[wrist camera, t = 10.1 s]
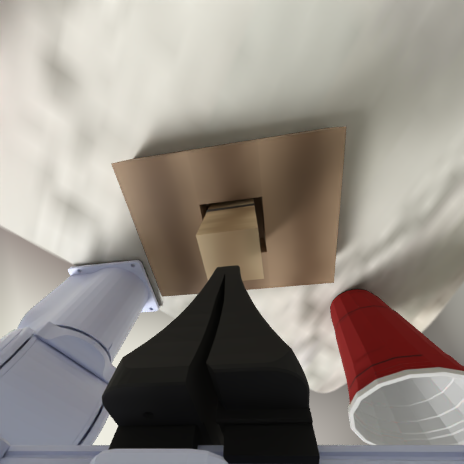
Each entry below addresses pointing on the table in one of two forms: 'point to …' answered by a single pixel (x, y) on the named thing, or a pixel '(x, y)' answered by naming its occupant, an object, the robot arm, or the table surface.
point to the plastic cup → (396, 376)
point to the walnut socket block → (236, 188)
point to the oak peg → (231, 238)
